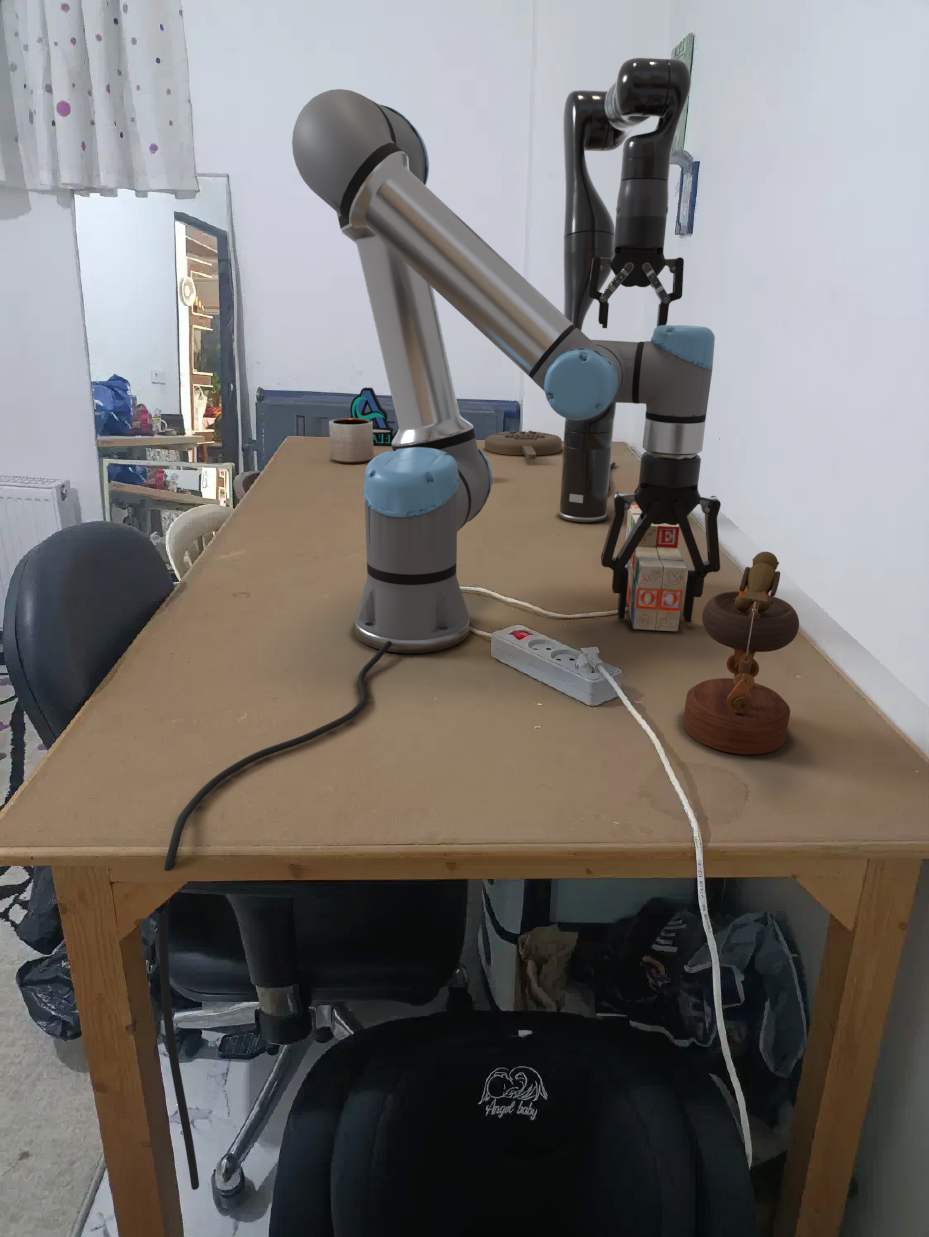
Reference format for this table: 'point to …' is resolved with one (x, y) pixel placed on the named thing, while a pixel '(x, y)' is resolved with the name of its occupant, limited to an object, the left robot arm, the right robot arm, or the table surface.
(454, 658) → the table surface
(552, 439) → the ice cream bar
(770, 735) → the music box
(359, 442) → the planter
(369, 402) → the decorative sign
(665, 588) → the stack of blocks
